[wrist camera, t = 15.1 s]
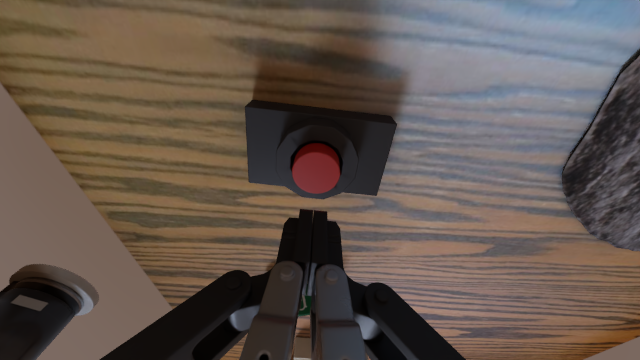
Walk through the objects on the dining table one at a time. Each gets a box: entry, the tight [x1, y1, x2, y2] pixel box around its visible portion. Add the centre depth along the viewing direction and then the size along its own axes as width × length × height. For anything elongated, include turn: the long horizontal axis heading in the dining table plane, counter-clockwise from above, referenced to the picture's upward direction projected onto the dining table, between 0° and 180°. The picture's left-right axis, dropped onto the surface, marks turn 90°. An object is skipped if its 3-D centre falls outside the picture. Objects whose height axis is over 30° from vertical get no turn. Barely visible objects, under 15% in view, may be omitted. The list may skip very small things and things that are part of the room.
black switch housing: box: [245, 100, 397, 199], centre depth 21 cm, size 12×7×4 cm, turn 84°
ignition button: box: [292, 143, 340, 194], centre depth 19 cm, size 4×4×2 cm
